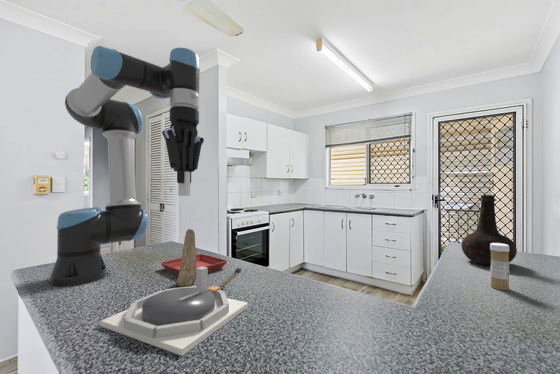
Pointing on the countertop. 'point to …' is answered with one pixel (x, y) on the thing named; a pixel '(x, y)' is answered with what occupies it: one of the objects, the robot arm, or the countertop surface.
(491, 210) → the dark brown vase
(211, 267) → the plant saucer
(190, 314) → the dial
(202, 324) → the panel
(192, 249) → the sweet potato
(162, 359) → the countertop surface
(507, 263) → the sprinkles bottle
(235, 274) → the tomahawk
